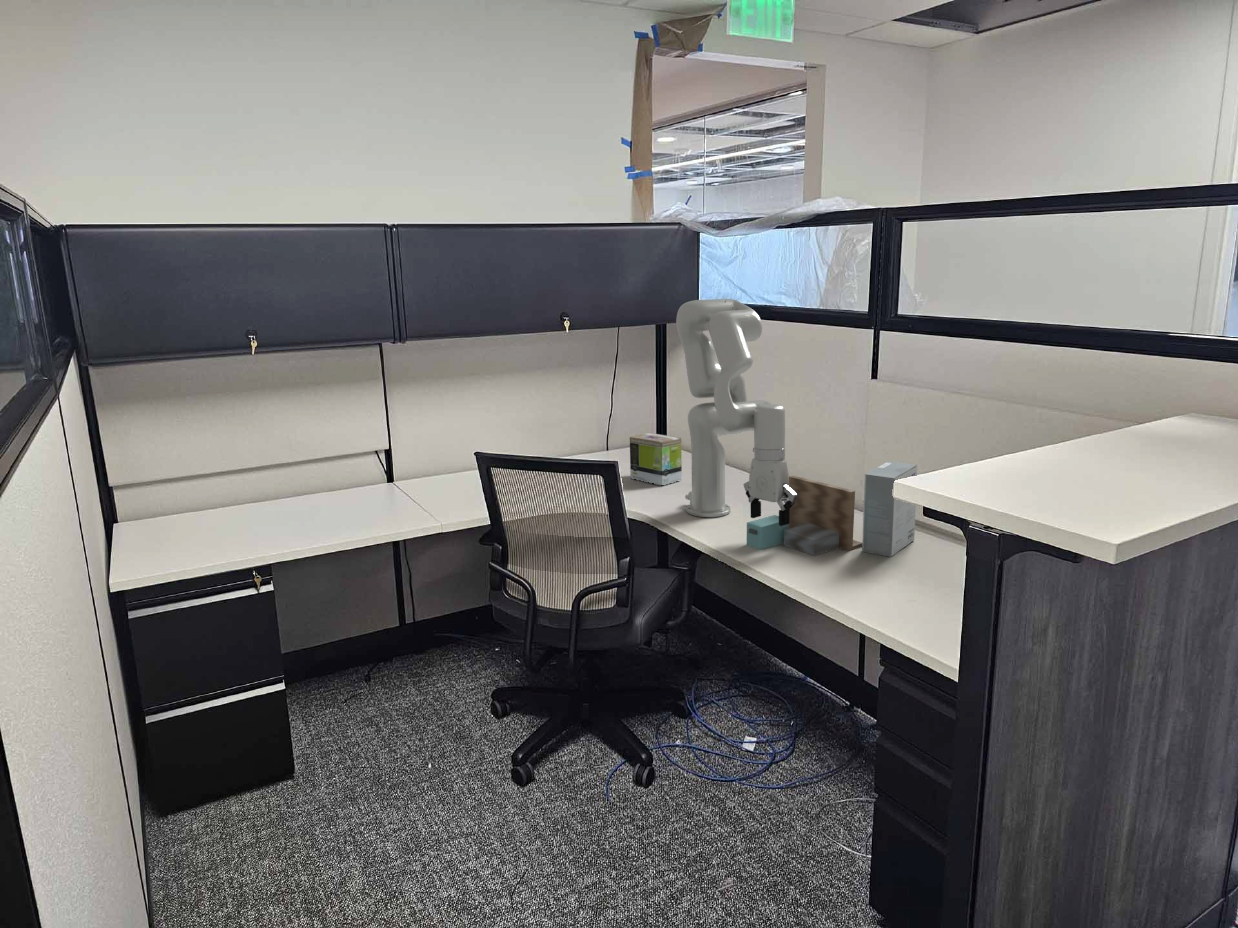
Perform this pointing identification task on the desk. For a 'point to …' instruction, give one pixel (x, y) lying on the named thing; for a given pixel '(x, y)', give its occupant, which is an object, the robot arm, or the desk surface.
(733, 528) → the desk surface
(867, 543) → the hard drive box
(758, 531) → the cabinet block
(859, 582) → the desk surface
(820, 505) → the wall board
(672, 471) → the tea box
